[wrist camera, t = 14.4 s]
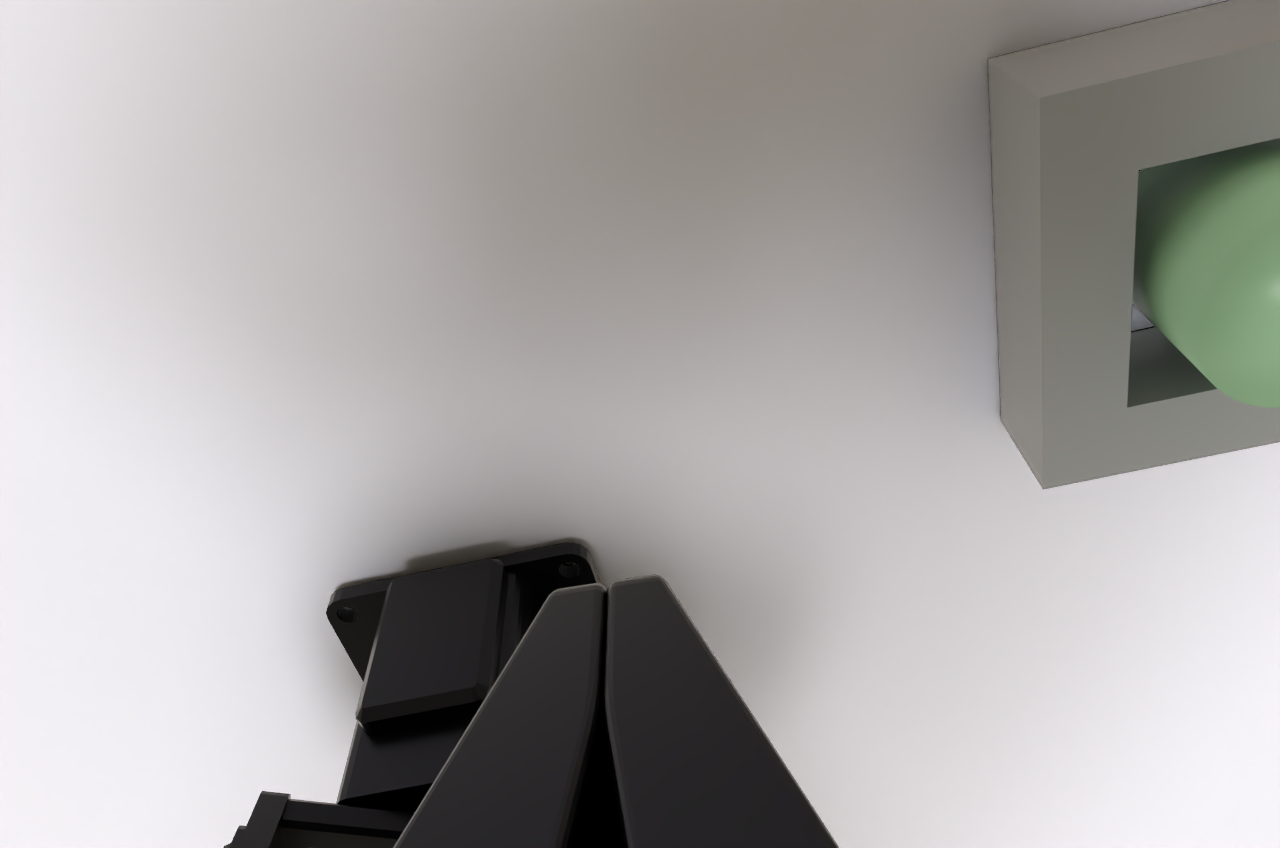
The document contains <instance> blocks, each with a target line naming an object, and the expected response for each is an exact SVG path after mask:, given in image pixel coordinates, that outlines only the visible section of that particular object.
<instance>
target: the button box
mask: <svg viewBox="0 0 1280 848" xmlns="http://www.w3.org/2000/svg"><path fill="white" fill-rule="evenodd" d="M988 77H989V104H990V132H991V159H992V186H993V214H994V241H995V269H996V296H997V324H998V351H999V378H1000V406H1001V422H1002V424H1003V425H1004V427H1005V428H1006V430H1007V432H1008V433H1009V435H1010V437H1011V438H1012V440H1013V441H1014V443H1015V445H1016V446H1017V448H1018V449H1019V451H1020V453H1021V454H1022V456H1023V458H1024V459H1025V461H1026V462H1027V464H1028V466H1029V467H1030V469H1031V471H1032V472H1033V474H1034V475H1035V477H1036V479H1037V480H1038V482H1039V484H1040V485H1041V487H1042V488H1043V489H1047V488H1052V487H1057V486H1062V485H1067V484H1072V483H1077V482H1082V481H1087V480H1092V479H1097V478H1102V477H1107V476H1112V475H1117V474H1122V473H1127V472H1132V471H1137V470H1142V469H1147V468H1152V467H1157V466H1162V465H1167V464H1172V463H1177V462H1182V461H1187V460H1192V459H1197V458H1202V457H1207V456H1212V455H1217V454H1222V453H1227V452H1232V451H1237V450H1242V449H1247V448H1252V447H1257V446H1262V445H1267V444H1272V443H1277V442H1280V408H1268V407H1258V406H1253V405H1248V404H1245V403H1242V402H1240V401H1237V400H1234V399H1233V398H1231V397H1229V396H1227V395H1225V394H1224V393H1223V392H1221V391H1220V390H1219V389H1218V388H1216V387H1215V386H1214V385H1213V384H1212V383H1211V382H1210V381H1209V380H1208V379H1207V378H1206V377H1205V376H1204V375H1203V374H1202V373H1201V372H1200V371H1199V370H1198V369H1197V368H1196V367H1195V366H1194V365H1193V364H1192V363H1191V362H1190V361H1189V360H1188V359H1187V358H1186V357H1185V356H1184V355H1183V354H1182V353H1181V352H1180V351H1179V350H1178V349H1177V348H1176V347H1175V346H1174V345H1173V344H1172V343H1171V342H1170V341H1169V340H1168V339H1167V338H1166V337H1165V336H1164V335H1163V334H1162V333H1161V332H1160V331H1159V330H1158V329H1157V328H1156V327H1154V328H1149V329H1145V330H1140V331H1135V332H1131V316H1132V296H1133V275H1134V254H1135V233H1136V212H1137V191H1138V170H1141V169H1145V168H1150V167H1154V166H1159V165H1163V164H1167V163H1172V162H1176V161H1180V160H1185V159H1189V158H1194V157H1198V156H1202V155H1207V154H1211V153H1216V152H1220V151H1224V150H1229V149H1233V148H1237V147H1242V146H1246V145H1251V144H1255V143H1259V142H1264V141H1268V140H1273V139H1277V138H1280V0H1229V1H1225V2H1221V3H1217V4H1213V5H1209V6H1204V7H1200V8H1196V9H1192V10H1188V11H1184V12H1180V13H1175V14H1171V15H1167V16H1163V17H1159V18H1155V19H1151V20H1147V21H1142V22H1138V23H1134V24H1130V25H1126V26H1122V27H1118V28H1113V29H1109V30H1105V31H1101V32H1097V33H1093V34H1089V35H1084V36H1080V37H1076V38H1072V39H1068V40H1064V41H1060V42H1056V43H1051V44H1047V45H1043V46H1039V47H1035V48H1031V49H1027V50H1022V51H1018V52H1014V53H1010V54H1006V55H1002V56H998V57H993V58H989V59H988Z"/></svg>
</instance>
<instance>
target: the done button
mask: <svg viewBox="0 0 1280 848" xmlns="http://www.w3.org/2000/svg"><path fill="white" fill-rule="evenodd" d="M1132 303H1133V304H1134V305H1135V307H1136V308H1137V309H1138V310H1139V311H1140V312H1141V313H1142V314H1143V315H1144V316H1145V317H1146V318H1147V319H1148V320H1149V321H1150V322H1151V323H1152V324H1153V325H1154V326H1155V327H1156V328H1157V329H1158V330H1159V331H1160V332H1161V333H1162V334H1163V335H1164V336H1165V337H1166V338H1167V339H1168V340H1169V341H1170V342H1171V343H1172V344H1173V345H1174V346H1175V347H1176V348H1177V349H1178V350H1179V351H1180V352H1181V353H1182V354H1183V355H1184V356H1185V357H1186V358H1187V359H1188V360H1189V361H1190V362H1191V363H1192V364H1193V365H1194V366H1195V367H1196V368H1197V369H1198V370H1199V371H1200V372H1201V373H1202V374H1203V375H1204V376H1205V377H1206V378H1207V379H1208V380H1209V381H1210V382H1211V383H1212V384H1213V385H1214V386H1215V387H1216V388H1218V389H1219V390H1220V391H1221V392H1223V393H1224V394H1225V395H1227V396H1229V397H1231V398H1233V399H1234V400H1237V401H1240V402H1242V403H1245V404H1248V405H1253V406H1258V407H1268V408H1280V138H1277V139H1273V140H1268V141H1264V142H1259V143H1255V144H1251V145H1246V146H1242V147H1237V148H1233V149H1229V150H1224V151H1220V152H1216V153H1211V154H1207V155H1202V156H1198V157H1194V158H1189V159H1185V160H1180V161H1176V162H1172V163H1167V164H1163V165H1159V166H1154V167H1150V168H1145V169H1142V170H1141V171H1140V172H1139V173H1138V191H1137V212H1136V233H1135V254H1134V275H1133V296H1132Z"/></svg>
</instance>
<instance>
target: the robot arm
mask: <svg viewBox="0 0 1280 848" xmlns="http://www.w3.org/2000/svg"><path fill="white" fill-rule="evenodd" d="M565 562H574V563H576V564H578V565H576V566H573V567H567V566H565V565H563V563H565ZM343 607H350V608H353V609H355V611H349V610H347V609H344V608H343ZM326 614H327V617H328V620H329V622H330V623H331V625H332V627H333V629H334V630H335V632H336V634H337V636H338V637H339V639H340V641H341V643H342V645H343V646H344V648H345V650H346V652H347V653H348V655H349V657H350V659H351V661H352V662H353V664H354V666H355V668H356V669H357V671H358V673H359V675H360V676H361V678H362V680H363V686H362V690H361V694H360V698H359V702H358V706H357V710H356V719H357V723H356V727H355V731H354V735H353V739H352V743H351V747H350V751H349V755H348V759H347V763H346V767H345V771H344V775H343V779H342V783H341V787H340V790H339V794H338V798H337V802H336V804H333V803H323V802H314V801H304V800H295V799H290V794H284V793H275V792H265V791H262V792H261V794H260V796H259V798H258V801H257V803H256V805H255V808H254V810H253V812H252V815H251V817H250V819H249V821H248V824H247V826H239V827H238V829H237V831H236V834H235V836H234V838H233V840H232V843H230V844H228V845H226V846H224V848H839V847H838V845H837V843H836V842H835V840H834V839H833V837H832V836H831V834H830V833H829V831H828V830H827V828H826V827H825V825H824V823H823V822H822V820H821V819H820V817H819V816H818V814H817V813H816V811H815V810H814V808H813V807H812V805H811V803H810V802H809V800H808V799H807V797H806V796H805V794H804V793H803V791H802V790H801V788H800V787H799V785H798V783H797V782H796V780H795V779H794V777H793V776H792V774H791V773H790V771H789V770H788V768H787V767H786V765H785V764H784V762H783V760H782V759H781V757H780V756H779V754H778V753H777V751H776V750H775V748H774V747H773V745H772V744H771V742H770V740H769V739H768V737H767V736H766V734H765V733H764V731H763V730H762V728H761V727H760V725H759V724H758V722H757V720H756V719H755V717H754V716H753V714H752V713H751V711H750V710H749V708H748V707H747V705H746V704H745V702H744V700H743V699H742V697H741V696H740V694H739V693H738V691H737V690H736V688H735V687H734V685H733V684H732V682H731V680H730V679H729V677H728V676H727V674H726V673H725V671H724V670H723V668H722V667H721V665H720V664H719V662H718V660H717V659H716V657H715V656H714V654H713V653H712V651H711V650H710V648H709V647H708V645H707V644H706V642H705V641H704V639H703V637H702V636H701V634H700V633H699V631H698V630H697V628H696V627H695V625H694V624H693V622H692V621H691V619H690V617H689V616H688V614H687V613H686V611H685V610H684V608H683V607H682V605H681V604H680V602H679V601H678V599H677V597H676V596H675V594H674V593H673V591H672V590H671V588H670V587H669V585H668V584H667V582H666V581H665V580H664V579H663V578H662V577H661V576H658V575H648V576H641V577H634V578H628V579H621V580H616V581H613V582H612V583H611V584H610V586H609V588H608V589H607V588H606V587H605V586H604V585H602V584H601V583H600V580H599V578H598V575H597V572H596V569H595V566H594V563H593V560H592V557H591V554H590V553H589V551H588V550H587V549H586V548H585V547H584V546H582V545H580V544H576V543H562V544H557V545H552V546H547V547H542V548H537V549H532V550H528V551H523V552H518V553H513V554H508V555H503V556H498V557H493V558H488V559H483V560H479V561H474V562H469V563H464V564H459V565H454V566H449V567H444V568H439V569H434V570H429V571H425V572H420V573H415V574H410V575H405V576H400V577H395V578H390V579H385V580H380V581H376V582H371V583H366V584H361V585H356V586H351V587H346V588H342V589H339V590H337V591H335V592H334V593H333V594H332V595H331V598H330V602H329V605H328V608H327V612H326Z"/></svg>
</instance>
